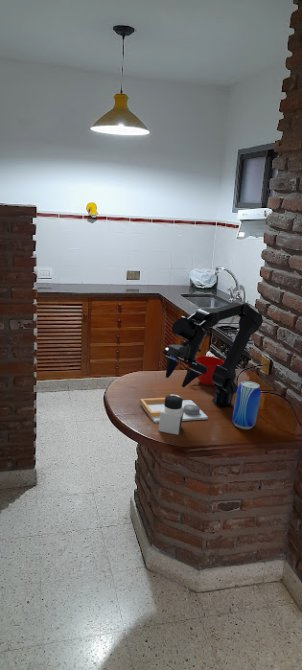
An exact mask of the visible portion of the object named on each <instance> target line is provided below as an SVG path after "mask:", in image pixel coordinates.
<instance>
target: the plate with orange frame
mask: <svg viewBox="0 0 302 670" xmlns="http://www.w3.org/2000/svg"><path fill="white" fill-rule="evenodd" d="M164 403H165V397H158V398H157V397H155V398H152V397H151V398H140V399H139V404H140V406H141V407H142V408H143V409H144V411H145V412H146V414H147V415H148V417H150V419H151V420H152V421H153V422H154V423H157V424H158V423H159V421H160V413H161V411H162V408H163V406H164ZM182 408H184V412H183V419H182V422H183V421H184V422H186V421H198V420H199V421H201V420H202V421H203V420H208V419H209V416H207V414H205V413H204V411H203V410H201V408H200V407H199V406H198V405H197V404H196V403H195V402H194V401H192V400H191V399H183V402H182Z"/></svg>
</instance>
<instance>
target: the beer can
mask: <svg viewBox="0 0 302 670" xmlns="http://www.w3.org/2000/svg"><path fill="white" fill-rule="evenodd" d="M237 386H238V388H237V392H236V393H235V394H236V395H235V401H234V404H233V413H232V418H231V421H232V423H233V425H234V426H235V427H237V428H238V429H241V430H250V429H252V428H253V427H254V426H255V425H256V422H257V417H258V411H259V405H260V402H261V395H262V391H261V389H260V384H259V383H257V382H254V381H251V380H243V381H241V382H240V384H239V385H237Z"/></svg>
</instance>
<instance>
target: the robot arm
mask: <svg viewBox="0 0 302 670" xmlns="http://www.w3.org/2000/svg"><path fill="white" fill-rule="evenodd" d="M236 316H237V317H239V320H238V332H237V334H236V336H235V338H234V340H233V342H232V345H231V347H230V349H229V351H228V353H227V355H226V357H225V359H224V360H223V361H224V363H223V364H222V365H220V366H218V365H217V366H216V368H215V370H214V372H213V373H212V374H213V376H212V381H213V385H212V386H213V387H215V391H214V393H213V399H211V401H212V402H213V403H214V404H215V405H216V406H217V408H218V407H219V408H225V407H226V408H229V407H230V408H231V407H234V404H233V403H232V402H233V395H235V394H237V388H238V386H239V385H237V384H236V382H235V380H236V377H237V375H236V368H237V366H238V365H239V362H240V361H241V357H242V355H243V352H244V350H245V349H246V347H247V346H248V345H247V344H248V342H249V341H250V338H251V337H252V336H253V334H255V333H257V331H259V329H260V327H262V324H263V321H264V318H263V315H262V314H261V313H259V312H258V311H257V310H255V309H253V308H252V307H251V306H250V305H249V304H248V303H246V302H243V301H240V300H237V301H235V302H233V303H230V304H225V305H223V306H219V307H216V308H215V307H214V308H207V307H206V308H199V309H196V310H195V312H193V314H191V315H190V316H189V317H187V316H186V317H185V316H184V315H181V316H180V318H178V319H176V320H175V321H174V322H173V323H172V326H171V331H172V333H173V334H174V335H176V336H178V337H180V338H182V339H184V340H185V341H184V340H183V341H181V342H180V344H169V345H168V347H165V348H164V350H163V352H162V355H163V356H164V358H165V360H166V368H165V369H166V370H165V378H166V379H169V378H170V376H171V375H172V374H173V373H174V371H175V370H176V368H177V366H178V365H179V363H180V362H182V363H184V364H185V365H186V366H187V365H189V366H188V368H187V367H186V375H185V376H184V379H183V382H182V384H181V387H182V388H185V387H186V386H188V385H189V384H191V382H192V381H193V380H195V379H198V376H200V375H201V376H202V374H206V372H207V367H206V366H204V365H202V364H200V363H198V362H196V358H197V355H198V353H201V351H202V349H201V346H202V344H203V342H204V340H205V337H206V336H208V337H210V336H211V334H210V330H209V329H211V328H213V327H215V326H217V325H218V324H219V322H220V321H222V320H225V319H229V318H233V317H236ZM201 373H202V374H201Z"/></svg>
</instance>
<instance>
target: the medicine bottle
mask: <svg viewBox="0 0 302 670" xmlns="http://www.w3.org/2000/svg"><path fill="white" fill-rule="evenodd" d="M164 398H165V403H164V406H163V408H162V411H161V413H160V421H159V422H158V432H162V433H167V434H172V435H179V434H180V431H181V428H182V426H183V421H182V419H183V412H184V408H182V402H183V400H184V399H183V398H182V397H181V396H179V395H177V394H168V395H166V396H165V397H164Z"/></svg>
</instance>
